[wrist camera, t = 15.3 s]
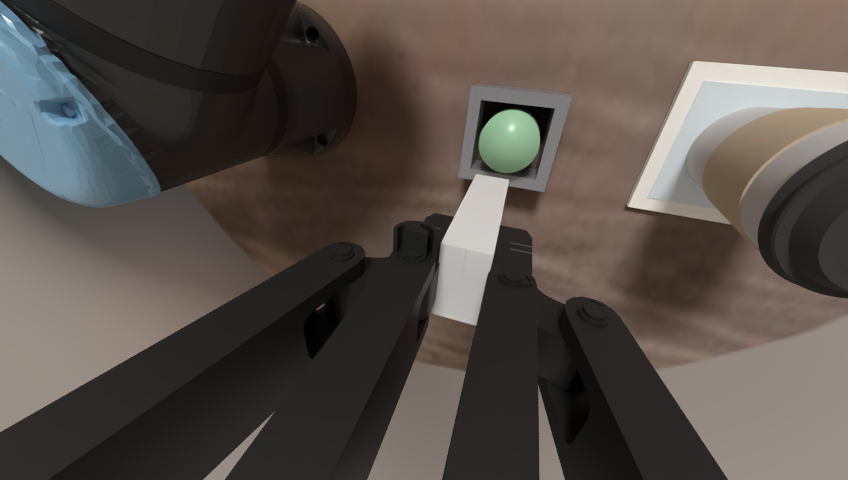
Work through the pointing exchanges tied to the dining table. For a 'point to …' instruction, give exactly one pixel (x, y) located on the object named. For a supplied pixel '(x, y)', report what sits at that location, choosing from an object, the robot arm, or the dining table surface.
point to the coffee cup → (782, 188)
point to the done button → (510, 140)
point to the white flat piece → (709, 101)
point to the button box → (522, 96)
